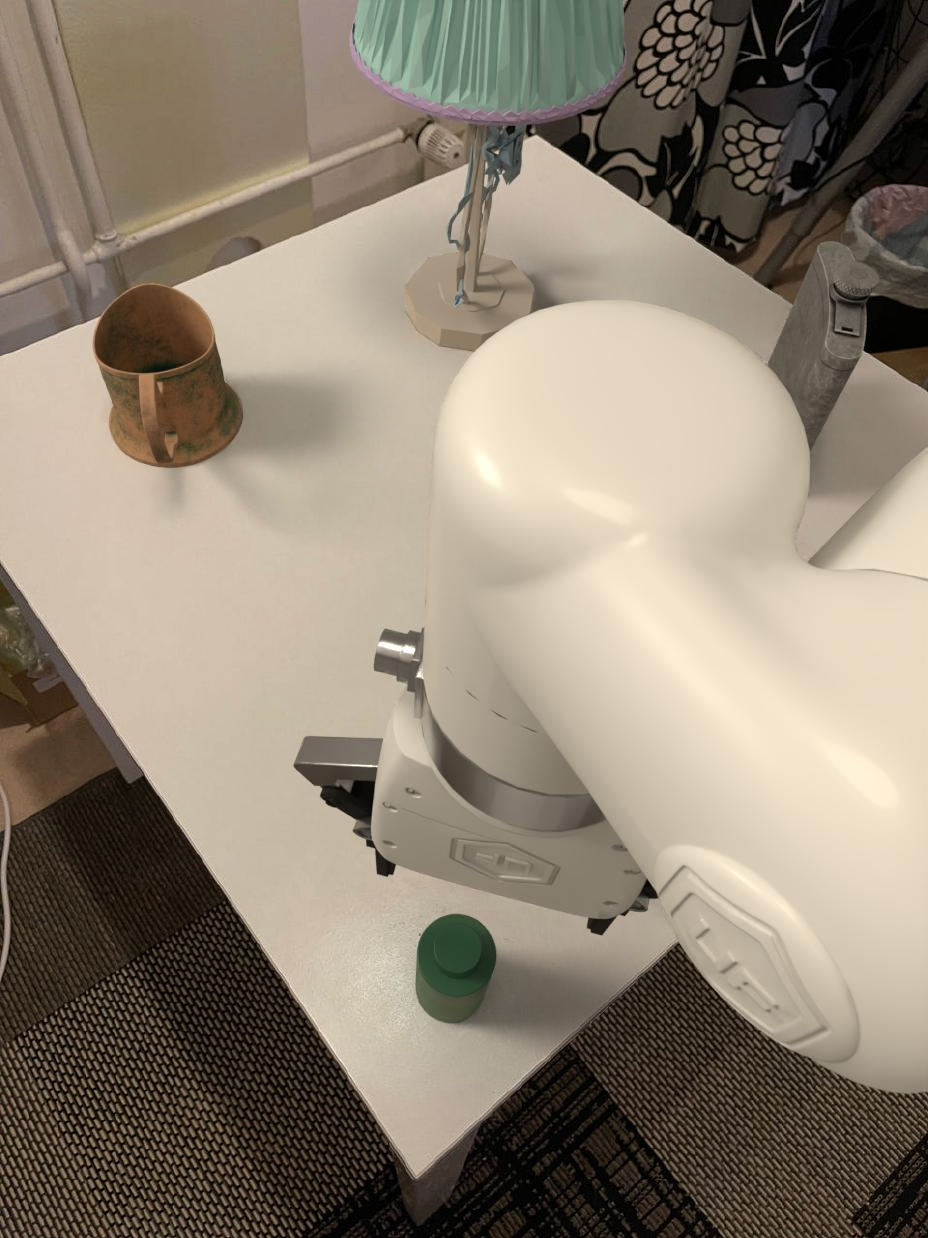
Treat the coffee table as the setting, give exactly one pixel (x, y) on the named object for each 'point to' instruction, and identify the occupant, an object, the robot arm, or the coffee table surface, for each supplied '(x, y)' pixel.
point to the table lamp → (485, 121)
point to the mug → (164, 378)
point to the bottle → (454, 967)
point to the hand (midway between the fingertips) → (495, 872)
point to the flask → (824, 334)
